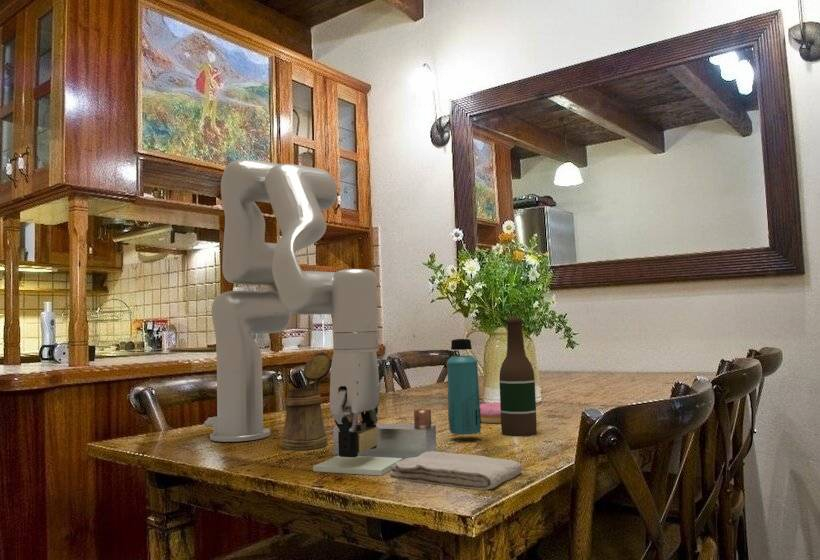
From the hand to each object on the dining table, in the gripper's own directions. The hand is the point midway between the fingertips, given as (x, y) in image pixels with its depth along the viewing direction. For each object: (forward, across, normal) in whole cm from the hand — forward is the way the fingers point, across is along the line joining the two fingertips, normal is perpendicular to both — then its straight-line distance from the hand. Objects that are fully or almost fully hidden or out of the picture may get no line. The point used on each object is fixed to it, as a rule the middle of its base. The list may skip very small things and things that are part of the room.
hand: (358, 451), depth 104 cm
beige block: (0, 0, 0) cm, 0 cm away
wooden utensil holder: (+3, -16, -19) cm, 25 cm away
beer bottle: (+3, -36, +19) cm, 41 cm away
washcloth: (+3, +1, +17) cm, 18 cm away
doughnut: (+3, -52, +11) cm, 53 cm away
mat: (+3, 0, 0) cm, 3 cm away
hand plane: (+3, -10, 0) cm, 11 cm away
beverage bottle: (+3, -28, +10) cm, 29 cm away
